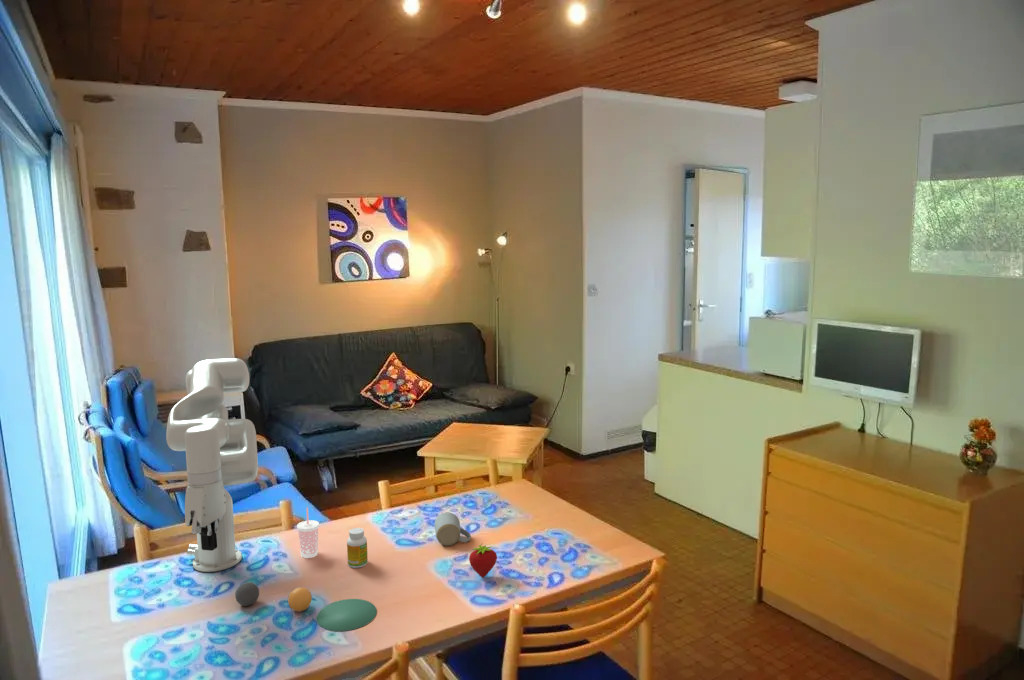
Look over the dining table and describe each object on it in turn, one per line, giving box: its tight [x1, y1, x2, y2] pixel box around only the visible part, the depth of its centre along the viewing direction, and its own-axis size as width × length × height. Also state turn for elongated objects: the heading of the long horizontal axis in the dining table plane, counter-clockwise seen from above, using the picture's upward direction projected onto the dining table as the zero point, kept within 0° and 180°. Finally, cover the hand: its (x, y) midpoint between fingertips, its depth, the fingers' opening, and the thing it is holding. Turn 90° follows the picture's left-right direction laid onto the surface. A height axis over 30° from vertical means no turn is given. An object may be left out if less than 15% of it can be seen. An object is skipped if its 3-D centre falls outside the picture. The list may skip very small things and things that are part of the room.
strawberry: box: [468, 542, 498, 578], centre depth 181 cm, size 6×8×10 cm
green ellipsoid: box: [316, 598, 378, 632], centre depth 163 cm, size 14×14×1 cm
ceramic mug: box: [434, 511, 472, 547], centre depth 203 cm, size 11×8×8 cm
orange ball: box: [287, 586, 313, 612], centre depth 165 cm, size 6×6×6 cm
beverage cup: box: [296, 507, 320, 559], centre depth 194 cm, size 6×6×14 cm
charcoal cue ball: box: [234, 581, 260, 607], centre depth 167 cm, size 6×6×6 cm
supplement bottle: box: [346, 527, 368, 569], centre depth 188 cm, size 5×5×10 cm
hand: (209, 548), depth 167 cm, fingers closed
